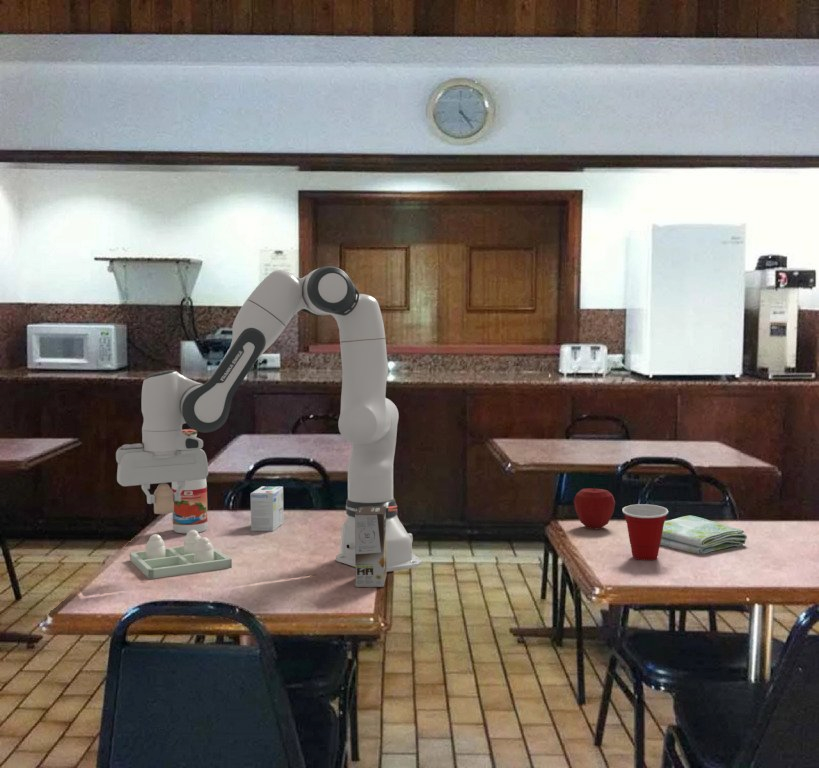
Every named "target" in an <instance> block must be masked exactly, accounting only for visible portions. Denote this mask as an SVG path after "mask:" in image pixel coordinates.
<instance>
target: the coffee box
mask: <svg viewBox="0 0 819 768" xmlns="http://www.w3.org/2000/svg"><path fill="white" fill-rule="evenodd" d="M355 565H356V567H355V587H356V588H384V586H385V583H386V578H387V572H386V507H385V506H368V507H359V508H358V509H357V511H356V513H355Z"/></svg>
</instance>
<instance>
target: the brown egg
mask: <svg viewBox="0 0 819 768" xmlns="http://www.w3.org/2000/svg"><path fill="white" fill-rule="evenodd" d="M153 495H155V503H153V512H154V513H153V514H156V515H165V514H167V515H168V514H173V512H174V494H173V491H172V487H170V485H169V484H168V483H158V486H157V487H156V489H155V490H154V493H153Z"/></svg>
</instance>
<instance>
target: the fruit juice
mask: <svg viewBox="0 0 819 768" xmlns="http://www.w3.org/2000/svg"><path fill="white" fill-rule="evenodd" d="M182 433H183V434H188V435H190V436H193V437H197V435H198V431H195V430H193V429H192V428H186V429H182ZM207 482H208V481H207V478H206V479H201V480H190V481H185V487H184V489H183V491H182V492H181V493H180V494H181V500H180V501H174V512H173V513H172V529H173V530H172V531H173V532H174V533H177V534H184V535H187V533H188V532H189V531H190V530H196V531H197V532H198V533H202V532H205V531H207V530H208V491H207V490H208V485H207ZM178 487H179V485H177V482H171V489H172V491H173V493H175V492H176V491H177V489H178Z"/></svg>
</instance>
